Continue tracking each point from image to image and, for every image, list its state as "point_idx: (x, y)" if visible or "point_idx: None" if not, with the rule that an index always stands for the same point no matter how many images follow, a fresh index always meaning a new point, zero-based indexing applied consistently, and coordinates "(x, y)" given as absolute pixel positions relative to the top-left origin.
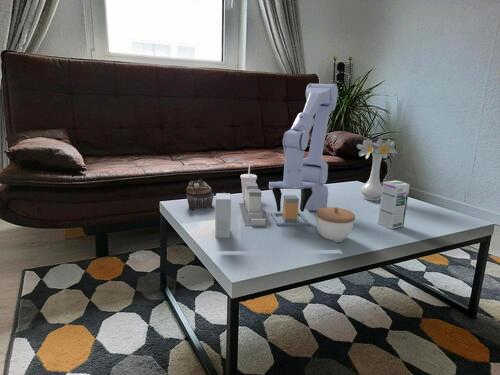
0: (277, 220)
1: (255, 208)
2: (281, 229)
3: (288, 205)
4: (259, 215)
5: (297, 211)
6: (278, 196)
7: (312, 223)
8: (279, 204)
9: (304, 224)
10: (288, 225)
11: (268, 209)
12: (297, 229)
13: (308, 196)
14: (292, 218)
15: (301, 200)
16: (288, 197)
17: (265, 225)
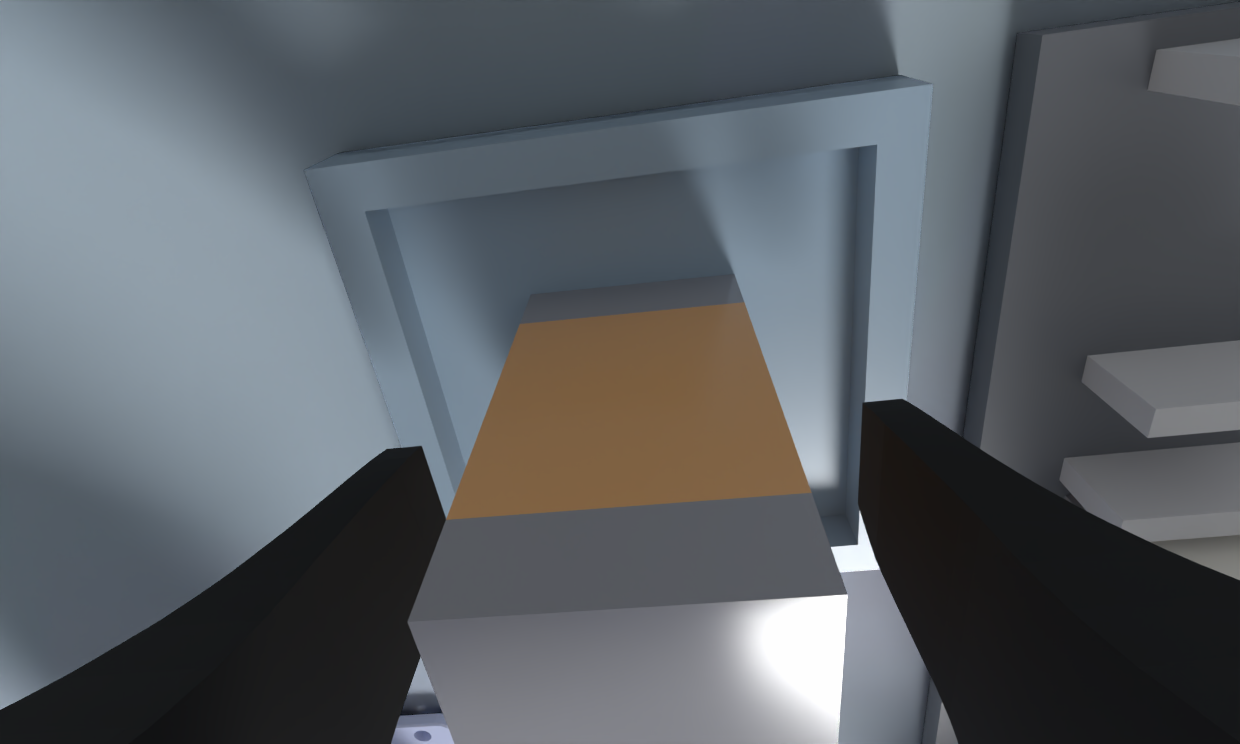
0: (883, 250)
1: (1235, 571)
2: (826, 18)
3: (724, 454)
4: (1191, 382)
5: (502, 391)
6: (1235, 634)
7: (300, 352)
8: (971, 475)
9: (399, 156)
10: (695, 108)
11: (847, 717)
12: (535, 57)
13: (34, 719)
14: (606, 318)
15: (379, 698)
16: (739, 706)
17: (1147, 55)
